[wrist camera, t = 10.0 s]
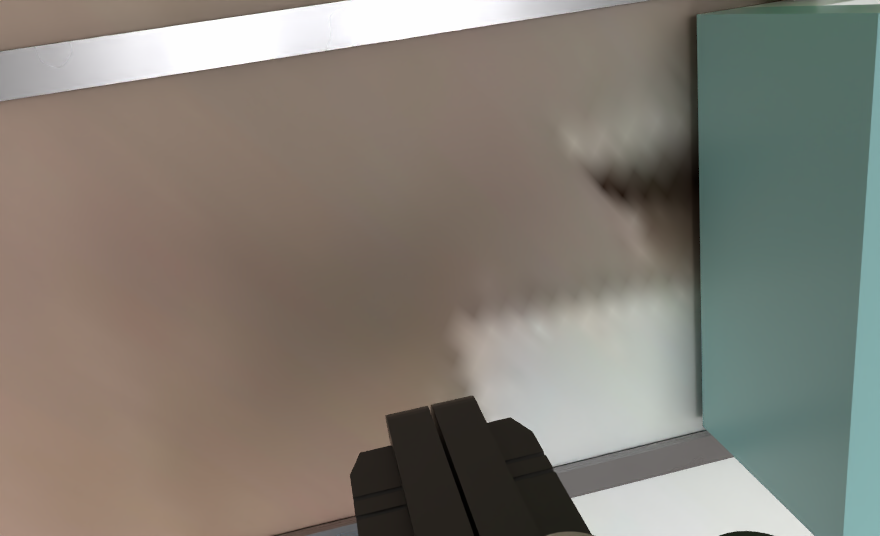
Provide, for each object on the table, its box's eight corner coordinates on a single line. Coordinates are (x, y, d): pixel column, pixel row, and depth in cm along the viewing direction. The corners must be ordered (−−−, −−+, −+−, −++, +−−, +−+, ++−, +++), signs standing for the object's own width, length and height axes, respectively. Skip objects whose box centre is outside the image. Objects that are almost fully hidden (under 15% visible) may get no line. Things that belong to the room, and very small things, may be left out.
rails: (-159, 75, 15) (-167, 75, 15) (1123, -114, 20) (1135, -115, 19) (66, 617, 21) (63, 625, 20) (1041, 373, 25) (1049, 377, 25)
